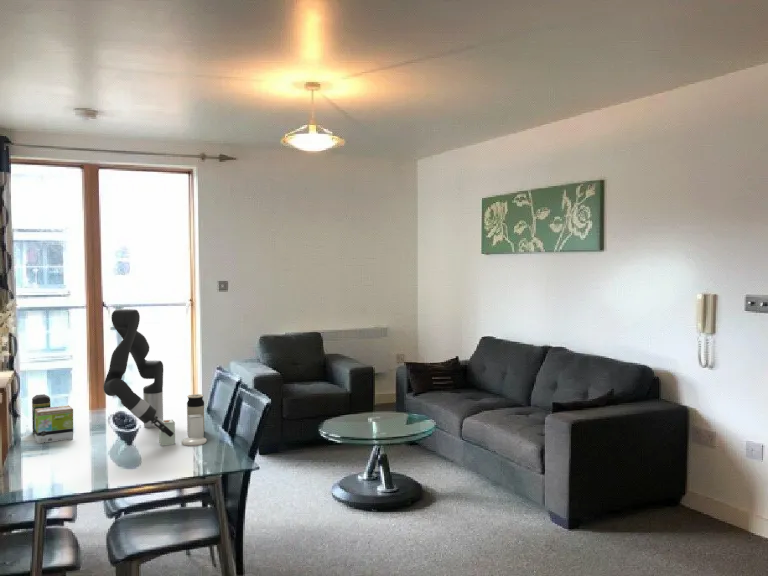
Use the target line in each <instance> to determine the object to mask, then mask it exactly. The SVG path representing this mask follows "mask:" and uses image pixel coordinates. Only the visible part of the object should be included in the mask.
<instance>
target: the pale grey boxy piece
mask: <svg viewBox="0 0 768 576" xmlns="http://www.w3.org/2000/svg"><path fill="white" fill-rule="evenodd" d="M162 422H163V423H164V425H165V426H166V427H168V429H169V430H171V431H172V432H173V433H174V434H173V435H172V436H171V437H170V436H168V435H167V434H166V433H165V432H162V431H161V430H159V429H158V443H159V444H160V446H161V447H164V446H170V445H176V427H175V426H176V422H175V421H174V419H167V420H166V419H163V421H162ZM164 428H165V427H164V426H163V427H162V428H161V429H164Z"/></svg>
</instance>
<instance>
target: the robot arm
mask: <svg viewBox="0 0 768 576" xmlns="http://www.w3.org/2000/svg"><path fill="white" fill-rule="evenodd" d="M140 319H141V317H140V312H139V311H138V310H137V309H133V308H117V309H115V310H113V311H112V313H111V323H112V325H113V328H114V329H115V330H116V332H117V333H118V334H119V336H120V337H121V339H122V340H121V341H120V342H119V344H118V345H117V346H116V347H115V349H114V350H113V351H112V353H111V358H110V362H109V367H108V371H107V374H106V377H105V380H104V384H103V392H104V393H105V395H106V396H109V397H113V396H116V397H117V398H118V399H119V400H120V403H121V405H122V406H123V407H124V408H126V409H127V410H128V411H129V412H130V413H131V414H132V415H134V416H135V417H136V418H137V419H138V420H139V421H141V422H142V423H143V427H144V428H146V429H153V428H154V429H155V428H157V429H158V431H159V430H161V431H162V432H165V433H166V434H167V435H168V436H170V437H171V436H172V435H173V434H174V433H173V432H172V431H171V430H169V429H168V427H166V426H165V425H164V423H163V422H162V421H163V420H164V401H163V400H164V399H163V398H164V397H163V396H164V393H163V392H164V391H163V389H164V388H163V387H164V364H163V361H161V360H148V359H146V358H147V356H148V354H149V353H150V344H149V342H148V339H146V337H145V336H144V334H142V333H141V332H139V331H138V329H139V325H140ZM130 355H131V357H132V358H133V360H134V363H135V366H136V368H137V370H138V373H139V376H140V377H141V378H142V379H144V380H153V383H151V384H148V385H145V386H143V389H142V390H143V393H142V394H143V397H142V398H141V397H140V396H139V394H137V393H135V392H134V391H133V389H132V388H131V387H130V385H128V383H127V382H126V381H124V380H123V379H122V378H123V376H124V374H125V373H126V371H127V367H128V366H127V365H128V362H129V356H130ZM163 426H164V427H165V428H164V429H161V428H162V427H163Z"/></svg>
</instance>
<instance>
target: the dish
mask: <svg viewBox="0 0 768 576" xmlns="http://www.w3.org/2000/svg"><path fill="white" fill-rule="evenodd" d="M180 443H181V445H182V446H185V447H196V446H201V445H205V444H207V438H206V437H191V438H189V437H186V438H184V439H183V438H182V439H181V441H180Z"/></svg>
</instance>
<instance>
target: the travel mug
mask: <svg viewBox="0 0 768 576" xmlns="http://www.w3.org/2000/svg"><path fill="white" fill-rule="evenodd" d="M186 396H187V402H186V414H187V417H186V419H187V423H186V424H187V427H186V428H187V431H188V415H195V414H201V415H202V416H203V432H205V430H206V428H205V427H206V426H205V401H204V394H199V393H196V394H188V395H186Z"/></svg>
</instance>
